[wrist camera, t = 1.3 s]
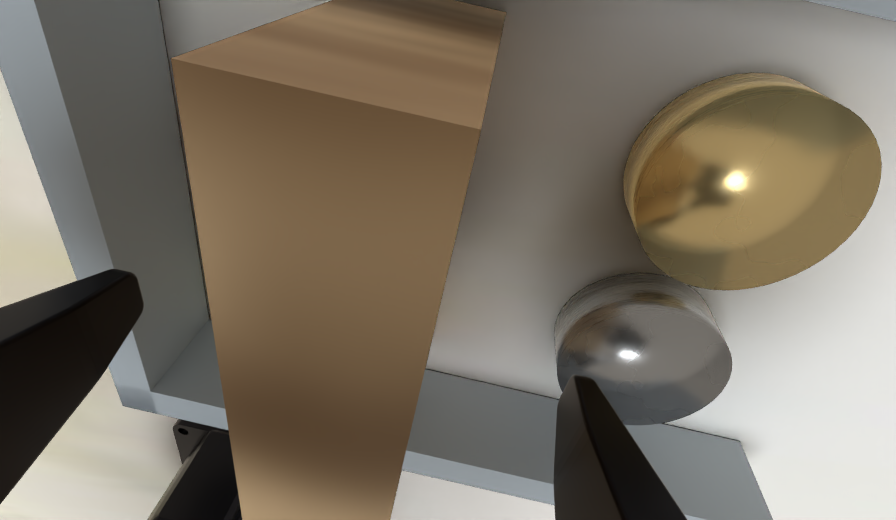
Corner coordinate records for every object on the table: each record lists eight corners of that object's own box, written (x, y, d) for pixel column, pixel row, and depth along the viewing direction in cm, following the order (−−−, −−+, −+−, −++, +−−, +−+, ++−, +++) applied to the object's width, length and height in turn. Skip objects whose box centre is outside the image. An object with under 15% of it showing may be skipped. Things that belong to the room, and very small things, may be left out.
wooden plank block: (430, 339, 17) (374, 584, 11) (351, 321, 17) (247, 555, 11) (506, 12, 11) (480, 129, 4) (380, -18, 11) (171, 58, 4)
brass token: (759, 264, 14) (790, 308, 12) (595, 226, 14) (604, 266, 12) (879, 97, 11) (941, 125, 9) (672, 49, 11) (697, 69, 9)
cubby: (723, 458, 19) (758, 552, 16) (183, 334, 19) (122, 405, 16) (1160, 3, 9) (1441, 36, 6) (60, -249, 9) (-144, -327, 6)
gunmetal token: (667, 391, 17) (682, 439, 16) (536, 361, 17) (537, 406, 16) (740, 290, 15) (768, 335, 13) (583, 253, 15) (590, 294, 13)
